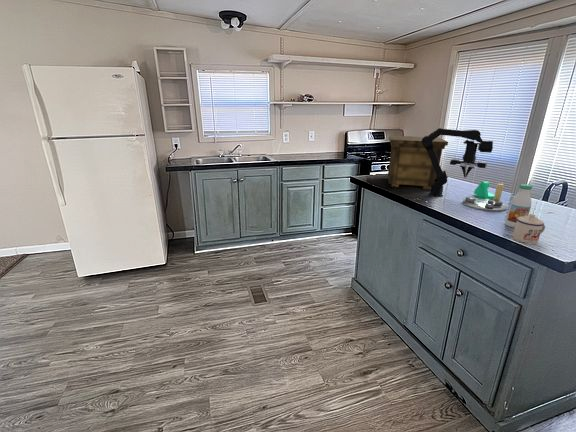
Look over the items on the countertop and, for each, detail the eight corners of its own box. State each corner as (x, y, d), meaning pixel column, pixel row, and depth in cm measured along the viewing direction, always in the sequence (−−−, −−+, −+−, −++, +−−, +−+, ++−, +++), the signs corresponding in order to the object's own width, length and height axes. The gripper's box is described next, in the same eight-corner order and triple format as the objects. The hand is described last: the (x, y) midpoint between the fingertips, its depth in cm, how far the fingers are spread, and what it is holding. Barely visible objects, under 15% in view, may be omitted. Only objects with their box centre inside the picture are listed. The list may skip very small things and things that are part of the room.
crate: (384, 177, 244) (389, 135, 233) (431, 180, 235) (438, 137, 224) (384, 187, 213) (390, 139, 202) (439, 191, 204) (448, 141, 193)
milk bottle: (501, 223, 147) (511, 183, 140) (515, 223, 148) (527, 183, 141) (513, 229, 140) (525, 187, 133) (528, 228, 141) (541, 187, 134)
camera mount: (497, 200, 186) (501, 184, 182) (484, 200, 185) (488, 184, 182) (484, 195, 197) (488, 179, 193) (473, 195, 197) (476, 179, 193)
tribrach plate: (482, 212, 163) (483, 206, 162) (453, 200, 183) (454, 195, 182) (516, 210, 167) (518, 204, 166) (485, 199, 187) (486, 194, 186)
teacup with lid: (523, 245, 123) (531, 218, 120) (506, 236, 132) (513, 210, 128) (550, 244, 125) (559, 217, 121) (531, 235, 133) (538, 210, 129)
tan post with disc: (499, 210, 161) (505, 190, 158) (484, 207, 165) (489, 188, 162) (503, 203, 173) (508, 184, 170) (489, 201, 177) (493, 182, 174)
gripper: (491, 151, 180) (484, 177, 185) (456, 149, 191) (451, 173, 196) (488, 153, 172) (481, 180, 177) (452, 150, 183) (447, 176, 188)
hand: (465, 177), depth 185 cm, fingers closed
